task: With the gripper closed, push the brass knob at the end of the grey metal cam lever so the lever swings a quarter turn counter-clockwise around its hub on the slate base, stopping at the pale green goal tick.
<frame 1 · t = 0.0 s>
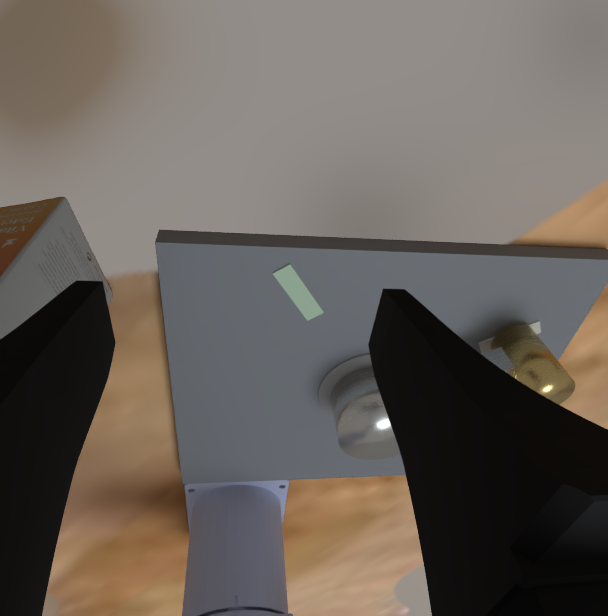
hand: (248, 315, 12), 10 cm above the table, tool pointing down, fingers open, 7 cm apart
cam lever: (441, 397, 25), point 4 cm above the table, hinge at 0.0°
small box: (13, 258, 21), on the table
stand base: (364, 375, 29), on the table
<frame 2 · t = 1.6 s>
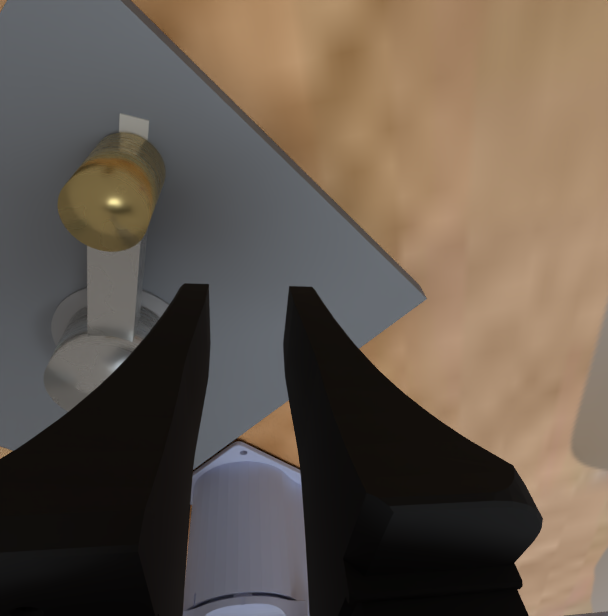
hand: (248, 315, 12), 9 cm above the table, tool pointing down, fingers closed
cam lever: (113, 304, 18), point 4 cm above the table, hinge at 0.0°
stand base: (127, 320, 23), on the table
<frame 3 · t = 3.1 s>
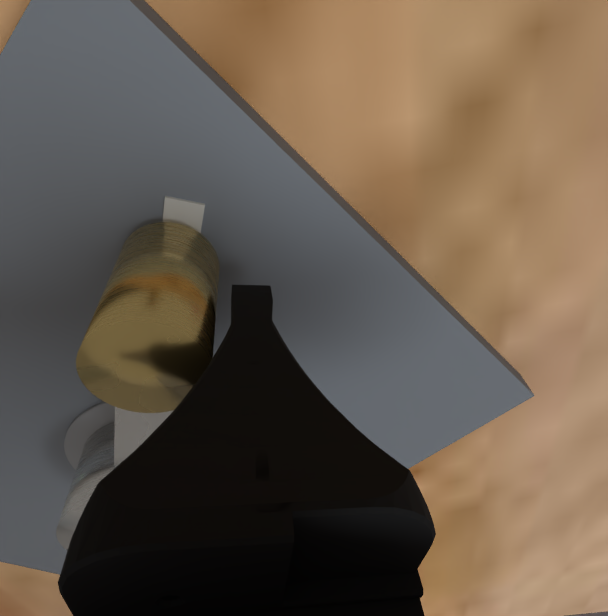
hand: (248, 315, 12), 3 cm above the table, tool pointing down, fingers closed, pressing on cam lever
cam lever: (148, 440, 13), point 4 cm above the table, hinge at 0.9°, touching gripper
stand base: (158, 423, 18), on the table
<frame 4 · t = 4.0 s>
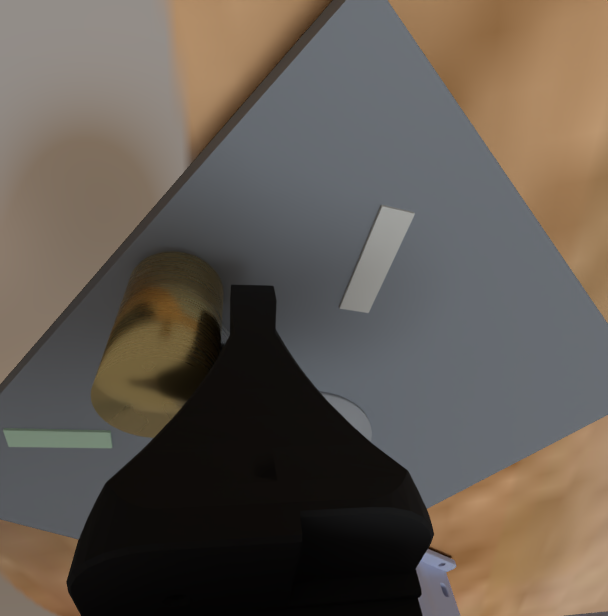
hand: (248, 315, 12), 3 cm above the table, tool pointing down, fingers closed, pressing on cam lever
cam lever: (256, 443, 14), point 4 cm above the table, hinge at 37.6°, touching gripper
stand base: (292, 418, 19), on the table
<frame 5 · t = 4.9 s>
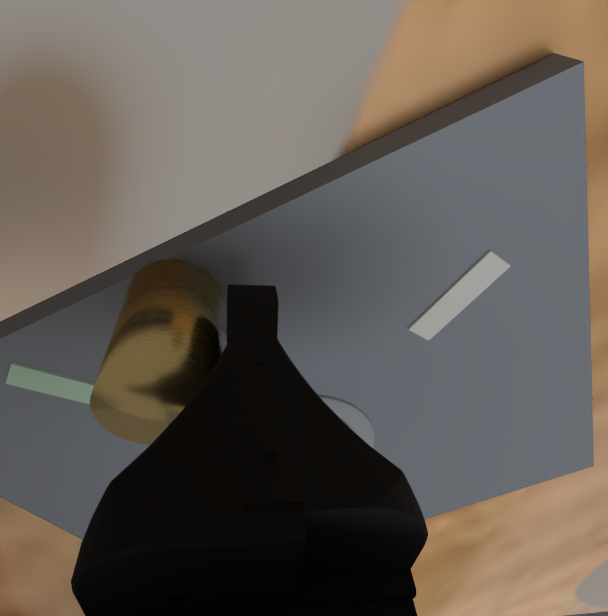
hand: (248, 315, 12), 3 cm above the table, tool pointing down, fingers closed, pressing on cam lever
cam lever: (257, 447, 14), point 4 cm above the table, hinge at 58.5°, touching gripper
stand base: (295, 422, 19), on the table
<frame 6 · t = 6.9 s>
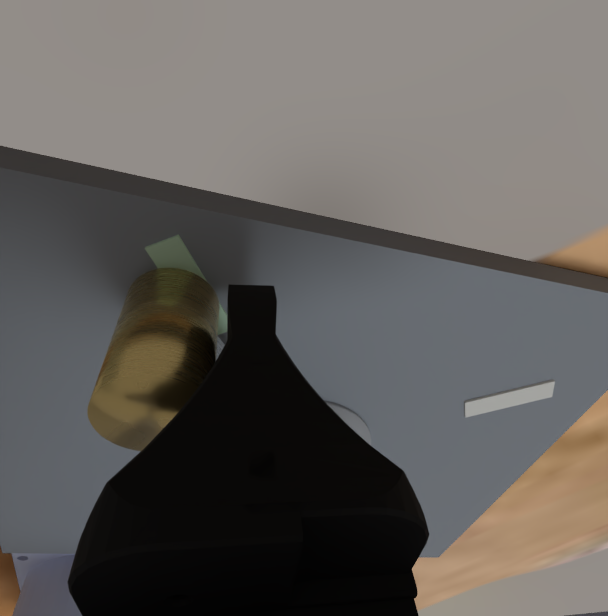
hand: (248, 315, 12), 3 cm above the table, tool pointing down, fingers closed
cam lever: (254, 453, 14), point 4 cm above the table, hinge at 98.8°, touching gripper
stand base: (292, 425, 19), on the table
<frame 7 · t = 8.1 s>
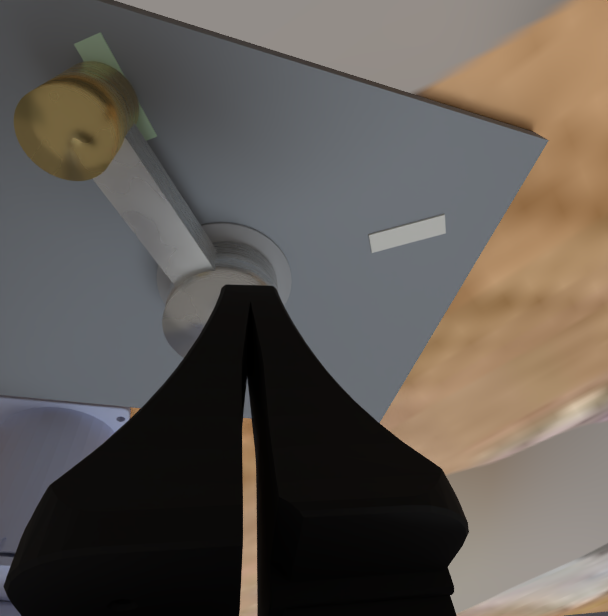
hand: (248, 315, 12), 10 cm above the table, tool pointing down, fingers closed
cam lever: (174, 243, 17), point 4 cm above the table, hinge at 98.9°
stand base: (226, 268, 22), on the table
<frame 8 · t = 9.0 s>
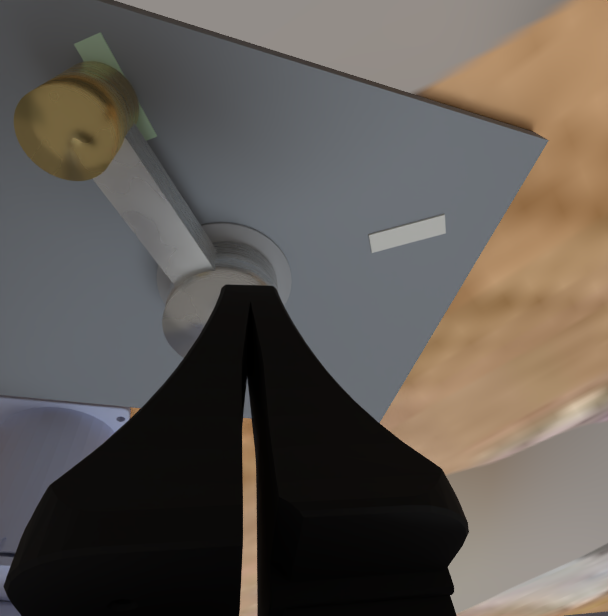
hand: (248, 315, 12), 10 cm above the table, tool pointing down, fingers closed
cam lever: (174, 243, 17), point 4 cm above the table, hinge at 98.9°
stand base: (226, 268, 22), on the table
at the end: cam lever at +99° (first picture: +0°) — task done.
